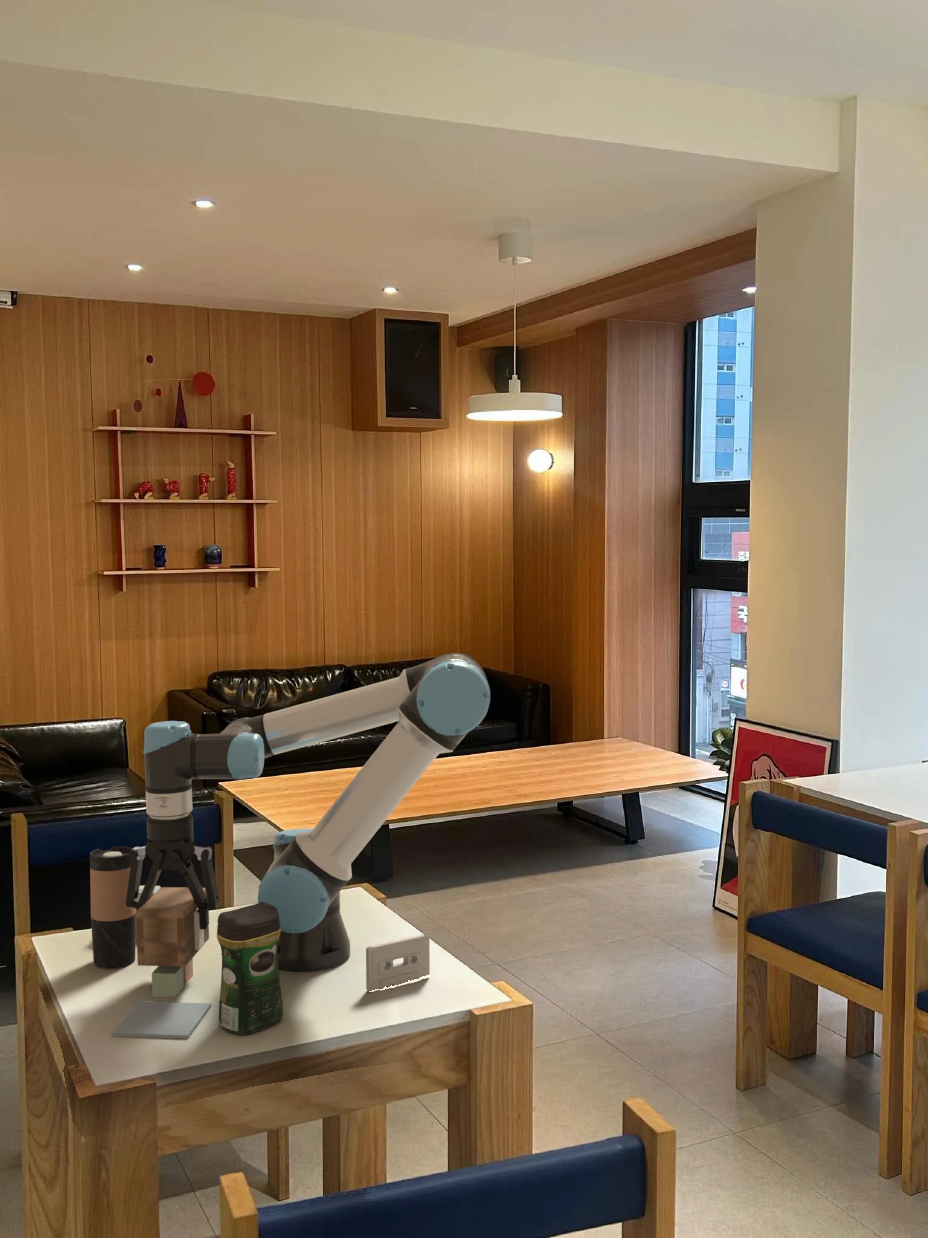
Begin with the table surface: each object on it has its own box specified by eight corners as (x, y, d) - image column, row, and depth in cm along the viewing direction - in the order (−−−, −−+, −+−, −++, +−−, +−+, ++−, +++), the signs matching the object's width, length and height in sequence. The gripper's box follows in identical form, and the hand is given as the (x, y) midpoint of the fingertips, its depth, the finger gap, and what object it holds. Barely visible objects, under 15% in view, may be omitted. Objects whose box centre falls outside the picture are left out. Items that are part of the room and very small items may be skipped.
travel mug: (123, 971, 201) (121, 859, 200) (83, 968, 203) (80, 856, 201) (144, 955, 209) (142, 847, 207) (105, 952, 210) (103, 845, 209)
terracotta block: (193, 976, 199) (192, 953, 199) (185, 985, 195) (185, 962, 195) (170, 975, 200) (169, 953, 199) (162, 984, 196) (162, 961, 195)
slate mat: (211, 1006, 186) (211, 1003, 186) (188, 1038, 174) (188, 1035, 174) (139, 1004, 187) (139, 1001, 187) (111, 1036, 175) (111, 1033, 175)
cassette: (369, 995, 191) (369, 950, 191) (364, 991, 193) (364, 946, 192) (431, 979, 198) (431, 936, 197) (425, 976, 199) (425, 933, 199)
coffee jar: (262, 1007, 186) (260, 894, 185) (291, 1022, 180) (289, 906, 179) (209, 1025, 179) (207, 908, 178) (238, 1041, 174) (236, 920, 172)
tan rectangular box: (209, 938, 201) (207, 887, 200) (185, 966, 188) (183, 912, 187) (164, 938, 201) (162, 887, 201) (137, 965, 188) (135, 911, 188)
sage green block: (183, 988, 194) (183, 965, 194) (175, 997, 190) (175, 974, 190) (160, 987, 194) (159, 964, 194) (152, 997, 191) (151, 973, 190)
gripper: (100, 820, 190) (105, 954, 191) (224, 820, 188) (228, 956, 190) (117, 809, 197) (122, 938, 199) (236, 809, 196) (241, 940, 197)
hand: (174, 947), depth 194 cm, fingers closed on tan rectangular box, 8 cm apart
